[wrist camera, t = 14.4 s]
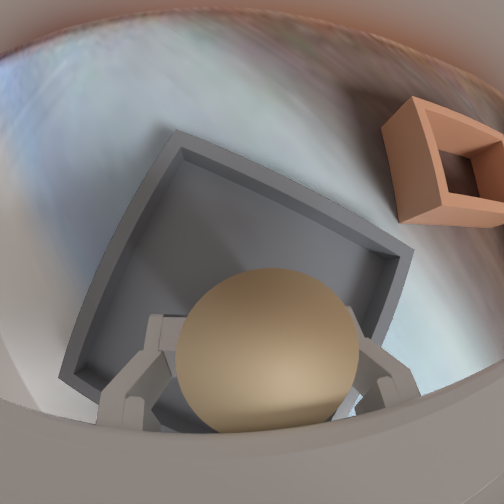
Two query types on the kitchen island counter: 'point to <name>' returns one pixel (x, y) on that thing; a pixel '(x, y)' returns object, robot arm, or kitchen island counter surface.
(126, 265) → the charcoal tray
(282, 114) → the kitchen island counter surface
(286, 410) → the birch peg
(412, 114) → the terracotta planter box
